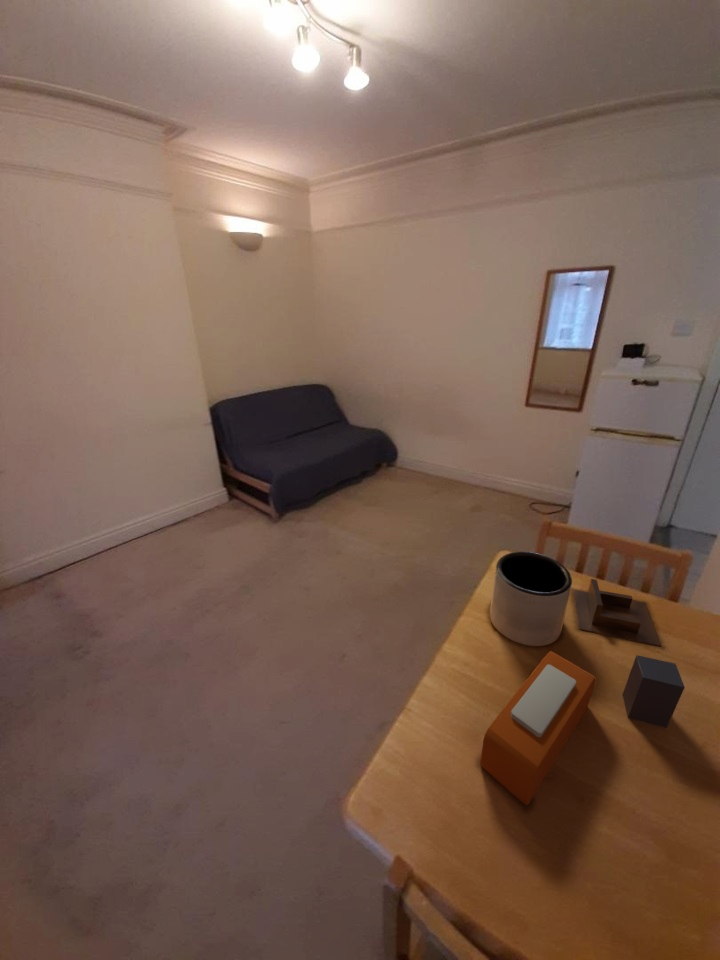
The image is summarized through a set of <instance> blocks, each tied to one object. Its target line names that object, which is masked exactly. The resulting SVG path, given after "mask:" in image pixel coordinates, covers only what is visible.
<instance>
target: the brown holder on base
mask: <svg viewBox="0 0 720 960" xmlns="http://www.w3.org/2000/svg"><path fill="white" fill-rule="evenodd" d="M572 593H573V598H574V599H573V600H574V605H575V606H574V607H575V613H576V616H577V617H576V618H577V619H576V620H577V623H578V625H577V626H578V630H580V631H584V632H589V633H594V634H599V635H603V636H607V637H613V638H617V639H622V640H627V641H632V642H636V643H641V644H642V643H643V644H646V645H649V646H656V647H660V648H661V647H662V644H661V642H660V641H661V640H660V638H659V636H658V633H657V630H656V627H655V625H654V622H653V619H652V617H651V614H650V612H649V609H648V607H647V604H646V602H644V601H640V600H639V601H638V600H634V599H633V596H632V595H629V594H623V593H622V594H621V593H618V592H611V591H605V590H601V589H600V587H599V583H598V579H595V578H591V579H590V583H589V587H588V591H582V590H579V589H578V590H577V589H573V590H572Z"/></svg>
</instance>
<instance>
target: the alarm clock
mask: <svg viewBox="0 0 720 960" xmlns="http://www.w3.org/2000/svg"><path fill="white" fill-rule="evenodd" d="M596 679H597V678H596V677H595V675H594V674H592V673H590V672H588V671H586V670H585V669H583V668H581V667H579V666H577V665H576V664H574V663H573V662H570V661H569V660H567V659H566V658H564V657H562V656H560V655H559V654H557V653H556V652H553V651H548V652H547V653H546V655H545V656H544V657H543V658H542V659H541V661H540V662H539V663H538V665H537V666H536V667H535V668H534V669H533V671H532V672H531V674H529V676H528V677H527V679H525V681H524V682H522V684H521V686H520V687H519V688H518V689H517V691H516V692H515V693H514V694H513V696H511V698H510V700H509V701H508V702H507V703H506V704H505V706H504V707H503V708H502V710H501V711H500V712H499V713H498V715H497V716H496V717H495V719H493V721H492V722H491V723H490V725H489V726H488V727H487V730H486V731H485V734H484V737H483V741H482V748H481V756H480V757H481V758H480V766H481V768H482V769H484V770H485V771H486V772H487V773H488V774H489V775H490V776H492V778H494V779H495V780H496V781H497V782H499V783H500V784H501V785H502V786H503V787H504V788H505V789H506V790H507V791H509V792H510V793H511V794H512V795H513V796H514V797H515V798H517V800H519V801H520V802H521V803H522V804H523V805H525V806H528V805H529V804H530V802H531V800H532V799H533V798H534V796H535V794H536V793H537V791H538V789H539V788H540V786H541V784H542V783H543V781H544V780H545V778H546V776H547V775H548V774H549V772H550V770H551V768H552V767H553V765H554V763H555V762H556V760H557V758H558V757H559V755H560V754H561V752H562V750H563V749H564V747H565V745H566V744H567V742H568V740H569V739H570V737H571V735H572V734H573V732H574V731H575V730H576V727H577V726H578V724H579V723H580V721H581V719H582V718H583V716H584V715H585V712H586V711H587V710H588V707H589V704H590V701H591V697H592V694H593V691H594V688H595V684H596Z"/></svg>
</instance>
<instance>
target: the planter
mask: <svg viewBox="0 0 720 960" xmlns="http://www.w3.org/2000/svg"><path fill="white" fill-rule="evenodd" d="M495 565H496V566H495V573H494V581H493V586H492V594H491V600H490V606H489V617H490V621H491V623H492V625H493V627H494V629H496V631H498V632H499V633H500V634H501V635H503V636H504V637H506V638H507V639H508V640H511V641H512V642H515V643H518V644H522V645H524V646H528V647H529V646H531V647H542V646H548V645H550V644H552V643H554V642H556V641H557V640H558V639H559V638H560V636H561V633H562V630H563V626H564V622H565V616H566V613H567V607H568V604H569V603H568V602H569V598H570V593H571V589H572V586H573V585H572V584H573V577H572V575H571V573H570V571H569V570H568V569H567V567H565V566H564V565H563V564H562V563H560V562H559V561H558V560H556V559H554V558H553V557H550V556H548V555H545V554H542V553H539V552H534V551H513V552H509V553H506V554H504V555H503V556H501V557H500V558H499V559H498V560H497V562H496V564H495Z"/></svg>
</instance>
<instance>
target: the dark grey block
mask: <svg viewBox="0 0 720 960" xmlns="http://www.w3.org/2000/svg"><path fill="white" fill-rule="evenodd" d="M684 690H685V684H684V681H683V680H682V676H681V675H680V671H679V669H678V666H677V664H676V663H675V662H671V661H666V660H661V659H656V658H652V657H647V656H643V655H639V654H637V655H635V658H634V661H633V664H632V666H631V669H630V672H629V674H628V678H627V681H626V684H625V686H624V689H623V692H622V700H623V703H624V707H625V712H626V716H627V719H629V720H634V721H637V722H640V723H645V724H649V725H653V726H657V727H661V728H664V729H667V728H668V726H669V724H670V721H671V719H672V717H673V715H674V713H675V710H676V708H677V706H678V703H679V702H680V699H681V697H682V695H683V693H684Z"/></svg>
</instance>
